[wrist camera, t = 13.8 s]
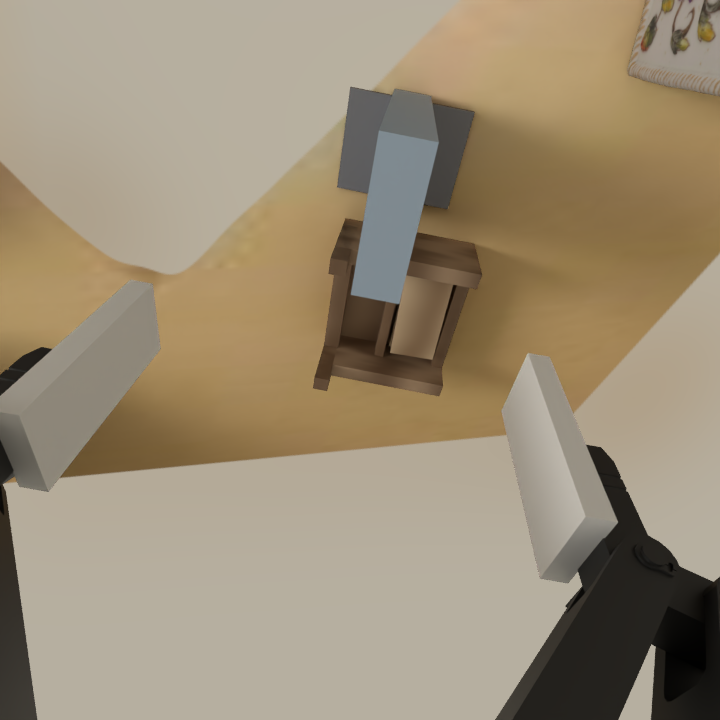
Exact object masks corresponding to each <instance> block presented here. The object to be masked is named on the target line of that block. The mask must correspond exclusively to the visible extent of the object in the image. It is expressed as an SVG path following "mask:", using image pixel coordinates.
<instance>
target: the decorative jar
mask: <svg viewBox="0 0 720 720" xmlns="http://www.w3.org/2000/svg"><path fill="white" fill-rule="evenodd" d="M628 75H629V76H633V77H635V78H639V79H642V80H644V81H648V82H652V83H657V84H659V85H664V86H668V87H674V88H680V89H685V90H693V91H696V92H700V93H705V94H711V95H716V96H720V0H646V1H645V6H644V10H643V14H642V18H641V22H640V26H639V30H638V33H637V37H636V41H635V44H634V47H633V50H632V56H631V59H630V62H629V65H628Z"/></svg>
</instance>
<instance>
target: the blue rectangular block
mask: <svg viewBox="0 0 720 720" xmlns="http://www.w3.org/2000/svg"><path fill="white" fill-rule="evenodd" d="M438 144H439V141H438V135H437V129H436V123H435V117H434V111H433V105H432V99H431V96H429V95H424V94H419V93H414V92H409V91H404V90H399V89H395V90H394V92H393V95H392V97H391V100H390V103H389V105H388V108H387V111H386V113H385V116H384V118H383V121H382V124H381V126H380V129H379V133H378V139H377V145H376V151H375V156H374V162H373V168H372V174H371V180H370V185H369V191H368V197H367V203H366V209H365V215H364V220H363V226H362V232H361V238H360V244H359V250H358V255H357V261H356V267H355V273H354V279H353V285H352V290H351V295H355V296H360V297H365V298H370V299H375V300H380V301H385V302H390V303H395V304H399V303H400V299H401V294H402V290H403V286H404V282H405V278H406V274H407V270H408V266H409V262H410V258H411V254H412V250H413V246H414V242H415V237H416V233H417V229H418V225H419V221H420V217H421V213H422V209H423V205H424V201H425V197H426V193H427V189H428V185H429V180H430V176H431V172H432V168H433V164H434V160H435V156H436V152H437V148H438Z"/></svg>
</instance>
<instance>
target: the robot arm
mask: <svg viewBox="0 0 720 720" xmlns="http://www.w3.org/2000/svg"><path fill="white" fill-rule="evenodd" d="M160 349H161V348H160V340H159V332H158V323H157V315H156V307H155V299H154V290H153V284H151V283H145V282H140V281H135V280H130V281H129V282H127V283H126V284H125V285H124V286H123V287H122V288H121V289H120V290H118V291H117V292H116V293H115V294H114V295H113V296H112V297H111V298H109V299H108V300H107V301H106V302H105V303H104V304H103V305H102V306H101V307H99V308H98V309H97V310H96V311H95V312H94V313H93V314H92V315H90V316H89V317H88V318H87V319H86V320H85V321H84V322H83V323H81V324H80V325H79V326H78V327H77V328H76V329H75V330H74V331H73V332H71V333H70V334H69V335H68V336H67V337H66V338H65V339H64V340H62V341H61V342H60V343H59V344H58V345H57V346H56V347H55V348H53V349H49V348H44V347H41V348H39V349H36V350H34V351H32V352H30V353H28V354H26V355H24V356H22V357H21V358H20V359H18V360H17V361H16V362H15V363H14V364H12V365H11V366H10V367H9V370H5V371H4V372H3V373H2V374H1V375H0V720H37V715H36V707H35V700H34V693H33V686H32V679H31V671H30V664H29V658H28V649H27V643H26V635H25V628H24V620H23V613H22V606H21V599H20V592H19V584H18V577H17V570H16V563H15V555H14V548H13V541H12V533H11V527H10V519H9V511H8V504H7V497H6V491H5V489H4V487H3V485H2V484H4V483H5V482H7V481H8V480H10V479H11V478H13V477H14V476H15V478H16V480H17V483H18V485H19V487H24V488H30V489H36V490H41V491H47V492H49V490H50V489H51V488H52V487H53V485H54V484H55V483H56V482H57V480H58V479H59V478H60V476H61V475H62V474H63V473H64V471H65V470H66V469H67V468H68V466H69V465H70V464H71V462H72V461H73V460H74V459H75V457H76V456H77V455H78V454H79V452H80V451H81V450H82V448H83V447H84V446H85V445H86V443H87V442H88V441H89V440H90V438H91V437H92V436H93V434H94V433H95V432H96V431H97V429H98V428H99V427H100V426H101V424H102V423H103V422H104V420H105V419H106V418H107V417H108V415H109V414H110V413H111V412H112V410H113V409H114V408H115V406H116V405H117V404H118V403H119V401H120V400H121V399H122V398H123V396H124V395H125V394H126V392H127V391H128V390H129V389H130V387H131V386H132V385H133V384H134V382H135V381H136V380H137V378H138V377H139V376H140V375H141V373H142V372H143V371H144V370H145V368H146V367H147V366H148V364H149V363H150V362H151V361H152V359H153V358H154V357H155V356H156V354H157V353H158V352H159V350H160ZM502 416H503V420H504V424H505V429H506V433H507V437H508V442H509V446H510V450H511V454H512V459H513V463H514V468H515V472H516V477H517V481H518V485H519V489H520V494H521V498H522V503H523V507H524V511H525V516H526V520H527V524H528V528H529V533H530V537H531V542H532V546H533V550H534V555H535V559H536V563H537V568H538V572H539V577H540V578H541V579H546V580H552V581H557V582H563V583H569V582H570V580H571V579H572V578H573V577H574V576H575V574H576V573H577V572H579V576H580V579H581V583H582V587H581V588H580V590H579V591H578V592H577V593H576V594H575V595H574V597H573V598H572V599H571V600H570V601H569V602H568V604H567V605H566V607H567V609H566V611H565V612H564V614H563V615H562V617H561V619H560V620H559V621H558V623H557V625H556V626H555V628H554V629H553V631H552V633H551V634H550V635H549V637H548V639H547V640H546V642H545V643H544V645H543V646H542V648H541V649H540V651H539V653H538V654H537V656H536V657H535V659H534V661H533V662H532V664H531V665H530V667H529V668H528V670H527V671H526V673H525V674H524V676H523V678H522V679H521V681H520V682H519V684H518V685H517V687H516V688H515V690H514V692H513V693H512V695H511V696H510V698H509V699H508V701H507V702H506V704H505V706H504V707H503V709H502V710H501V712H500V713H499V715H498V716H497V718H496V719H495V720H618V719H619V717H620V714H621V712H622V710H623V708H624V705H625V703H626V700H627V698H628V696H629V694H630V691H631V689H632V687H633V685H634V682H635V680H636V678H637V676H638V673H639V671H640V669H641V667H642V664H643V662H644V660H645V657H646V655H647V653H648V650H649V648H650V646H651V644H652V645H654V646H656V651H655V667H654V683H653V698H652V714H651V720H720V577H719V578H718V579H717V580H715V581H714V582H712V581H710V580H708V579H706V578H704V577H701V576H699V575H697V574H695V573H693V572H690V571H688V570H686V569H684V568H682V567H680V566H679V565H678V562H677V560H676V559H675V557H674V556H673V555H672V553H671V552H670V551H669V550H668V549H667V548H666V547H665V546H663V545H662V544H661V543H660V542H659V541H657V540H655V539H653V538H651V537H650V536H648V535H647V532H646V530H645V528H644V526H643V524H642V522H641V520H640V517H639V515H638V513H637V511H636V509H635V506H634V504H633V502H632V500H631V498H630V495H629V493H628V492H626V487H625V485H624V483H623V480H621V479H620V477H621V476H620V474H619V472H618V470H617V467H616V465H615V463H614V461H613V460H612V459H611V458H610V457H609V456H608V455H607V453H606V452H605V451H604V450H603V449H602V448H601V447H596V446H590V445H586V444H585V441H584V439H583V436H582V434H581V432H580V429H579V427H578V424H577V422H576V419H575V417H574V415H573V412H572V410H571V407H570V405H569V403H568V400H567V398H566V395H565V393H564V390H563V388H562V386H561V383H560V381H559V378H558V376H557V374H556V371H555V369H554V366H553V364H552V361H551V359H550V357H547V356H542V355H536V354H531V353H528V354H527V356H526V358H525V361H524V363H523V365H522V367H521V369H520V372H519V374H518V376H517V378H516V380H515V382H514V385H513V387H512V389H511V391H510V393H509V396H508V398H507V400H506V402H505V404H504V406H503V409H502Z"/></svg>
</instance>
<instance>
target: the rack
mask: <svg viewBox="0 0 720 720" xmlns="http://www.w3.org/2000/svg"><path fill="white" fill-rule="evenodd" d="M362 226H363V222H361V221H356V220H351V219H345V222H344V224H343V227H342V230H341V232H340V235H339V237H338V240H337V243H336V245H335V248H334V251H333V253H332V256H331V259H330V267H329V274H333V275H334V280H333V287H332V294H331V301H330V308H329V314H328V321H327V328H326V335H325V342H324V347H323V351H322V354H321V357H320V361H319V364H318V368H317V371H316V374H315V378H314V385H313V388H314V389H319V390H324V391H327V389H328V385H329V381H330V377H331V375H332V376H338V377H343V378H348V379H353V380H358V381H363V382H369V383H374V384H379V385H384V386H389V387H394V388H399V389H405V390H410V391H415V392H420V393H425V394H430V395H436V396H439V395H440V393H441V390H442V387H443V381H442V366H443V363H444V360H445V357H446V354H447V351H448V348H449V345H450V342H451V339H452V336H453V334H454V331H455V328H456V325H457V322H458V319H459V316H460V313H461V310H462V307H463V304H464V301H465V298H466V295H467V293H468V290H469V288H473V289H477V288H478V285H479V282H480V279H481V277H482V273H481V269H480V265H479V261H478V257H477V253H476V249H475V245H474V244H472V243H467V242H462V241H457V240H452V239H447V238H442V237H437V236H432V235H427V234H422V233H416V237H415V242H414V246H413V250H412V254H411V258H410V262H409V266H408V270H407V274H406V275H407V276H412V277H417V278H422V279H427V280H432V281H437V282H442V283H447V284H452V285H453V287H452V291H451V295H450V298H449V302H448V305H447V309H446V313H445V316H444V320H443V324H442V327H441V331H440V334H439V338H438V342H437V345H436V349H435V353H434V356H433V360H430V359H424V358H418V357H412V356H406V355H400V354H394V353H390V350H391V347H390V346H389V339H390V334H391V330H392V326H393V322H394V318H395V313H396V309H397V305H398V304H395V303H390V302H385V301H380V300H375V299H370V298H365V297H360V296H355V295H351V290H352V285H353V279H354V273H355V267H356V261H357V255H358V250H359V244H360V238H361V232H362Z"/></svg>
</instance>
